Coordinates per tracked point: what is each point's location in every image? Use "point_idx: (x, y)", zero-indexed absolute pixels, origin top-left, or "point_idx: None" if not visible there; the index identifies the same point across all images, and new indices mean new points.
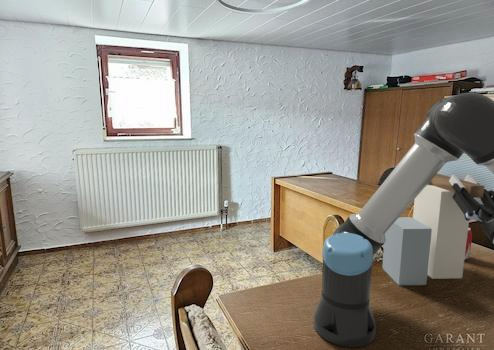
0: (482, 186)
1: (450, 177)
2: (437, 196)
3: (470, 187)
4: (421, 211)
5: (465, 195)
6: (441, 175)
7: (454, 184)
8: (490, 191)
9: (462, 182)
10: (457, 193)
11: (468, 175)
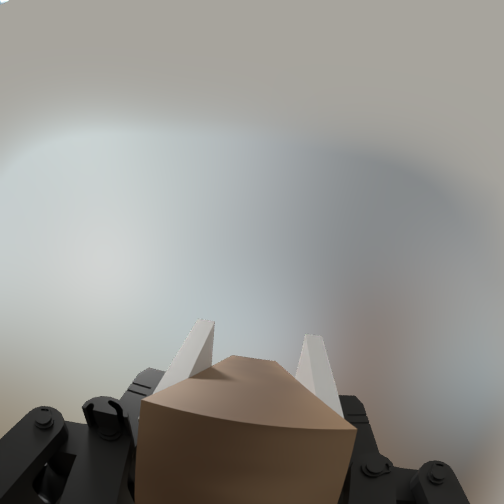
0: (325, 437)
1: (272, 367)
2: None
3: (139, 419)
4: None
5: (68, 485)
6: (262, 362)
7: (138, 375)
8: (424, 477)
9: (230, 379)
10: (19, 426)
11: (310, 340)
